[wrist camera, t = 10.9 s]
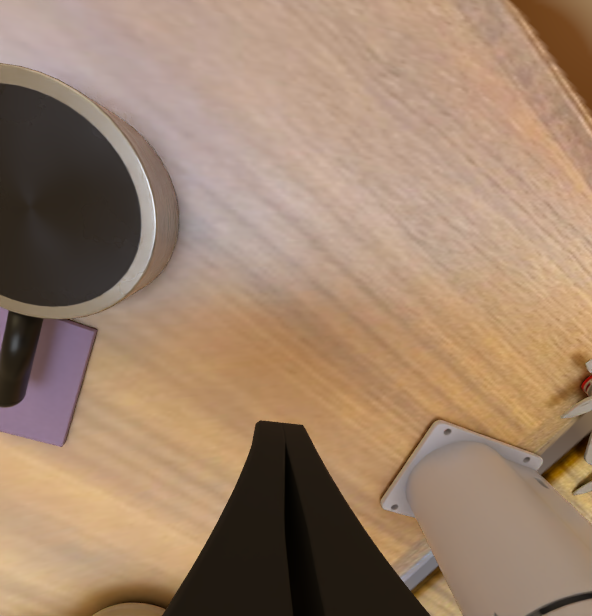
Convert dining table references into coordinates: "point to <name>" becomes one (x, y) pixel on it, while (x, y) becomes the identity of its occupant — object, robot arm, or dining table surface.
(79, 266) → the pan
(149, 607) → the teacup
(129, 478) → the dining table surface
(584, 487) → the swiss army knife
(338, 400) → the dining table surface
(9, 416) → the cloth
